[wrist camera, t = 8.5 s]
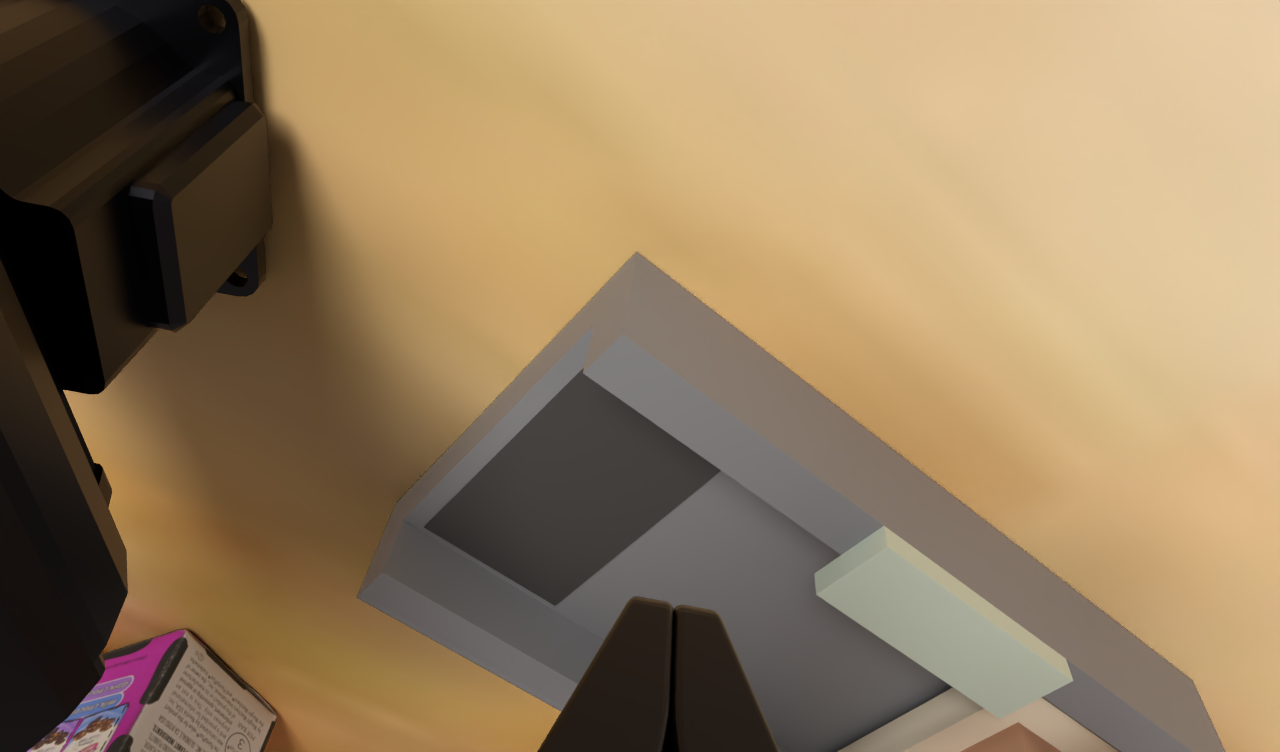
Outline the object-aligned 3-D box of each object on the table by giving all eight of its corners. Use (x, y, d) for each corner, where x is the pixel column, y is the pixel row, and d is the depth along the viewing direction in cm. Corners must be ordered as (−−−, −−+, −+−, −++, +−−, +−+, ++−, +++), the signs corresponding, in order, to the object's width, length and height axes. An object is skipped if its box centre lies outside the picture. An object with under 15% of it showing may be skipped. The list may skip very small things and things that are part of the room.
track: (395, 503, 25) (347, 617, 22) (636, 251, 20) (618, 351, 17) (913, 815, 32) (933, 937, 29) (1192, 680, 27) (1252, 809, 24)
